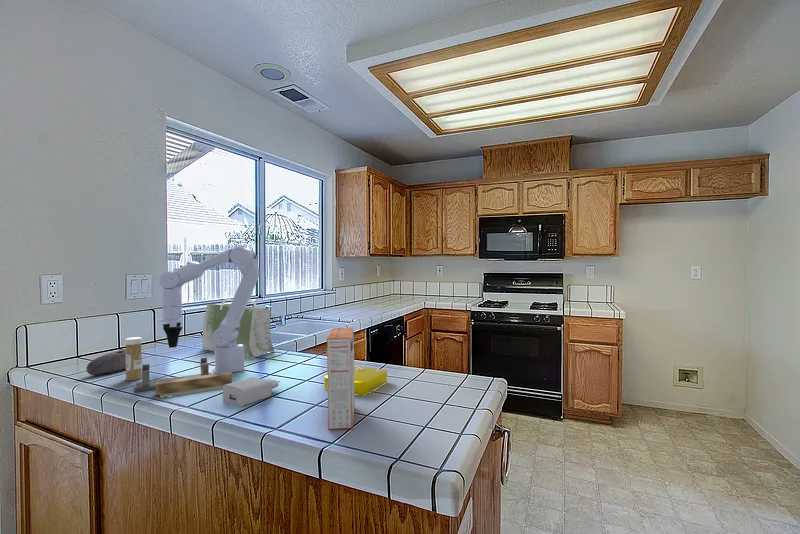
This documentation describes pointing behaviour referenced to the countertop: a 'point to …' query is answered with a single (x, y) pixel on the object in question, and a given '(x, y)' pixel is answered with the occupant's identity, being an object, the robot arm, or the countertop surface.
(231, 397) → the charger
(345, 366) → the cracker box
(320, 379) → the countertop surface
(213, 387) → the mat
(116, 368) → the perforated stone tool
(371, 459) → the countertop surface
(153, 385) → the rail rack
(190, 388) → the rail
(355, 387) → the element tile
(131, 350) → the sprinkles bottle
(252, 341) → the grocery bag
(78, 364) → the countertop surface
